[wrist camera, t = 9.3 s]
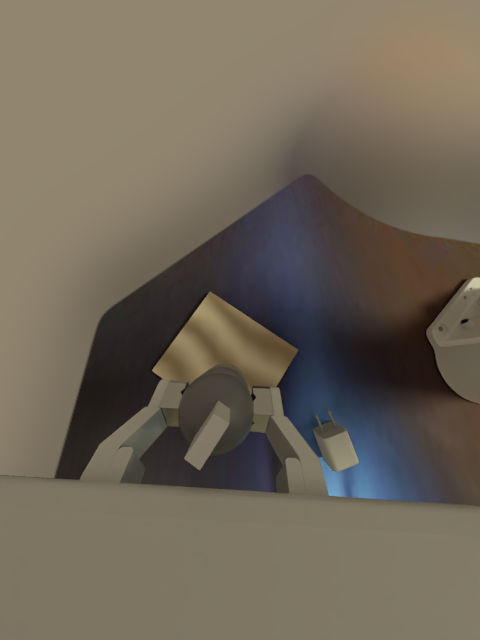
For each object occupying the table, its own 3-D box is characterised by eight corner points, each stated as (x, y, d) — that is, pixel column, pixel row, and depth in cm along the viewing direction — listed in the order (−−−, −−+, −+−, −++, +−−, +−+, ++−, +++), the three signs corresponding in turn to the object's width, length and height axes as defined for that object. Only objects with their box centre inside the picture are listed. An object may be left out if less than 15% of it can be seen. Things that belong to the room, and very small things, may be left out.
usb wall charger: (321, 457, 29) (334, 473, 25) (305, 412, 30) (315, 421, 27) (344, 448, 30) (361, 462, 26) (327, 404, 31) (341, 411, 27)
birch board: (210, 293, 33) (209, 291, 32) (296, 350, 32) (298, 349, 31) (154, 370, 31) (151, 370, 30) (245, 435, 30) (245, 438, 29)
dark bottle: (219, 354, 16) (195, 360, 6) (253, 378, 16) (284, 424, 6) (194, 390, 16) (125, 459, 6) (229, 415, 16) (220, 533, 6)
